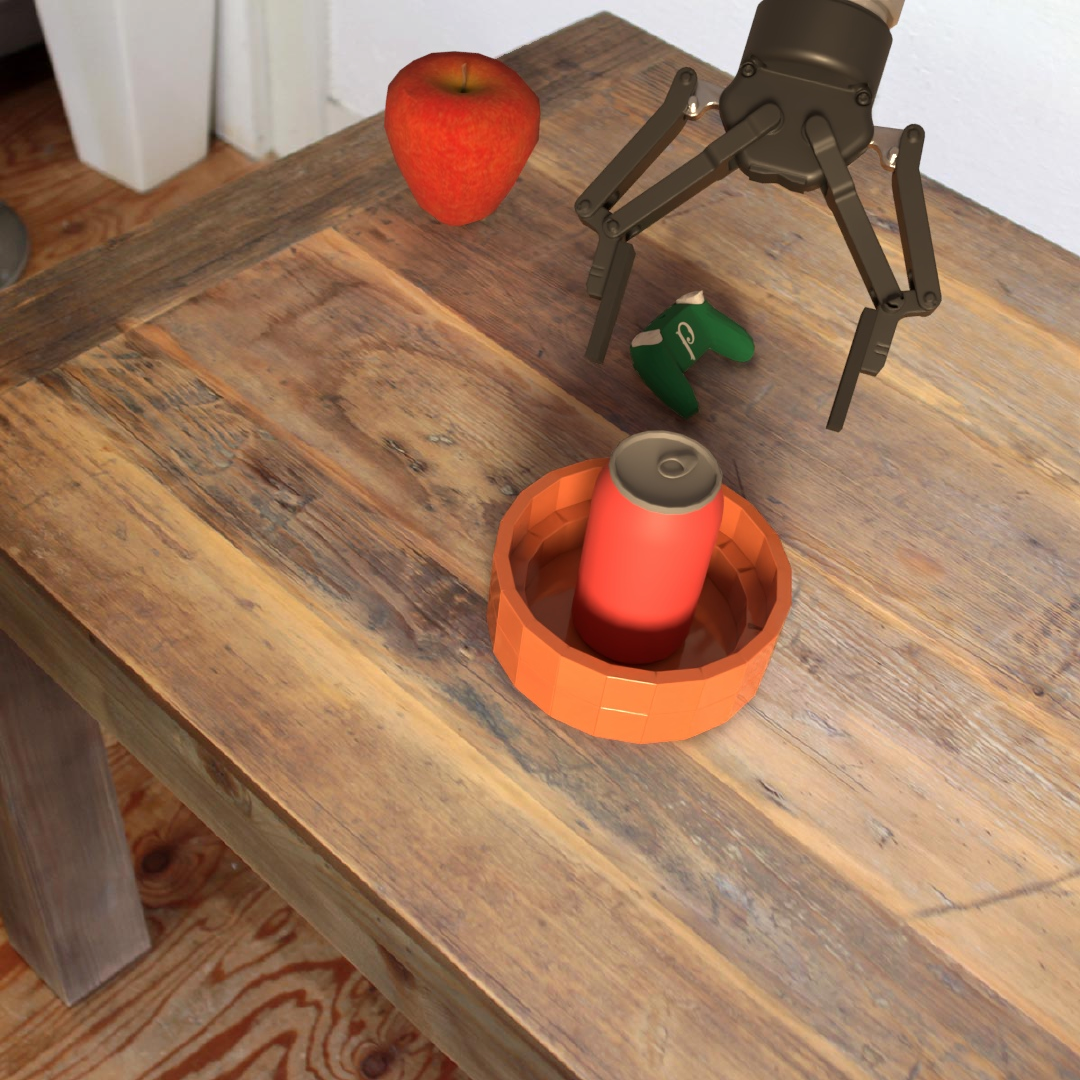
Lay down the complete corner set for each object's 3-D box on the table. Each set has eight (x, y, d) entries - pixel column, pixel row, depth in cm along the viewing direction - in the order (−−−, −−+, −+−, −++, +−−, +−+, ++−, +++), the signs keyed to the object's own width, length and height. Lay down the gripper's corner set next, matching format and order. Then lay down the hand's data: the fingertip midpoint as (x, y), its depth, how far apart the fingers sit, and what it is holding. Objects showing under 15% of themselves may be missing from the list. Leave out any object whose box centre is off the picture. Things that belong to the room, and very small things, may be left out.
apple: (551, 244, 98) (571, 94, 89) (412, 268, 94) (417, 113, 85) (496, 162, 104) (509, 14, 95) (364, 181, 101) (364, 29, 92)
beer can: (712, 639, 73) (761, 487, 64) (616, 689, 70) (653, 536, 62) (640, 560, 77) (677, 405, 68) (546, 604, 74) (572, 448, 65)
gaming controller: (722, 363, 93) (681, 289, 92) (764, 349, 90) (722, 272, 89) (653, 431, 88) (608, 354, 86) (695, 419, 85) (649, 339, 83)
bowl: (768, 552, 79) (792, 481, 75) (763, 774, 69) (791, 707, 64) (508, 509, 79) (517, 436, 75) (465, 724, 69) (472, 654, 64)
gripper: (1043, 93, 74) (928, 462, 75) (613, -11, 77) (509, 342, 79) (1076, 45, 66) (948, 454, 68) (599, -68, 70) (484, 323, 71)
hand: (711, 395), depth 73 cm, fingers open, 13 cm apart
